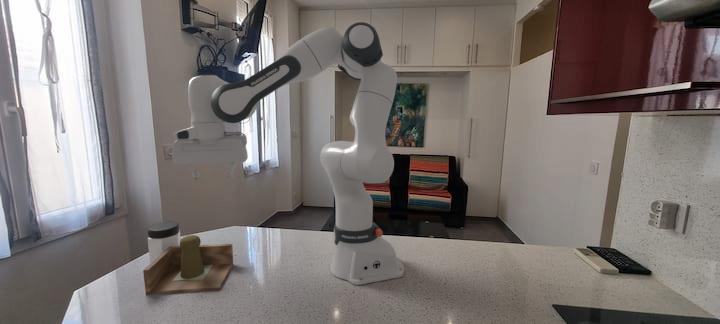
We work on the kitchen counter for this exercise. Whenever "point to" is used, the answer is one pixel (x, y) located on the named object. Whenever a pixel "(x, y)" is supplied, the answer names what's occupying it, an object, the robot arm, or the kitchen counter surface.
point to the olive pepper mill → (191, 257)
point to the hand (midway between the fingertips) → (213, 178)
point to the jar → (162, 238)
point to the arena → (167, 278)
